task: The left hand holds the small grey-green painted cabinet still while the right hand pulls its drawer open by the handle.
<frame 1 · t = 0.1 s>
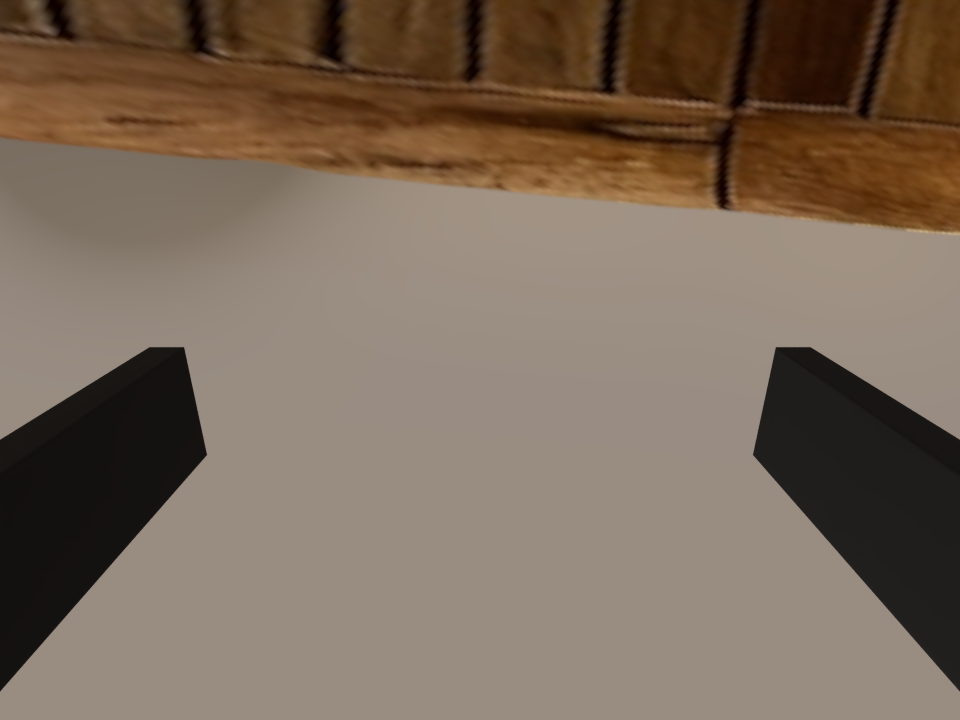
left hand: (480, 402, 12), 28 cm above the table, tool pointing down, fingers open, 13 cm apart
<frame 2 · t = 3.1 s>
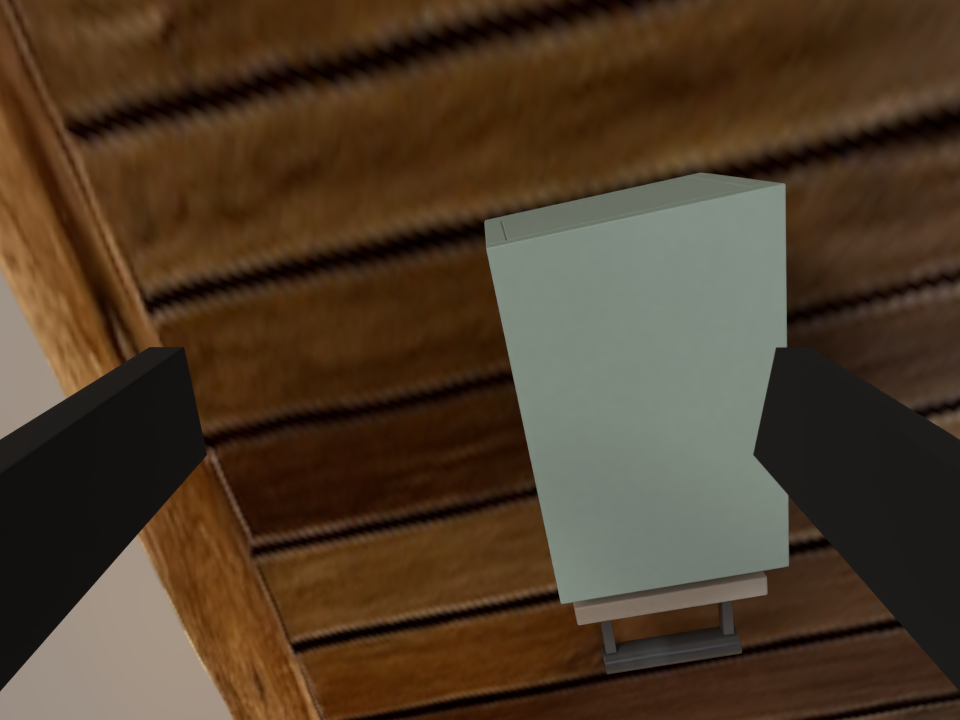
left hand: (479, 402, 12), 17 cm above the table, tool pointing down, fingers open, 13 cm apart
drawer: (643, 486, 29), point 4 cm above the table, slide at 1.4 cm
cabinet: (613, 358, 31), on the table
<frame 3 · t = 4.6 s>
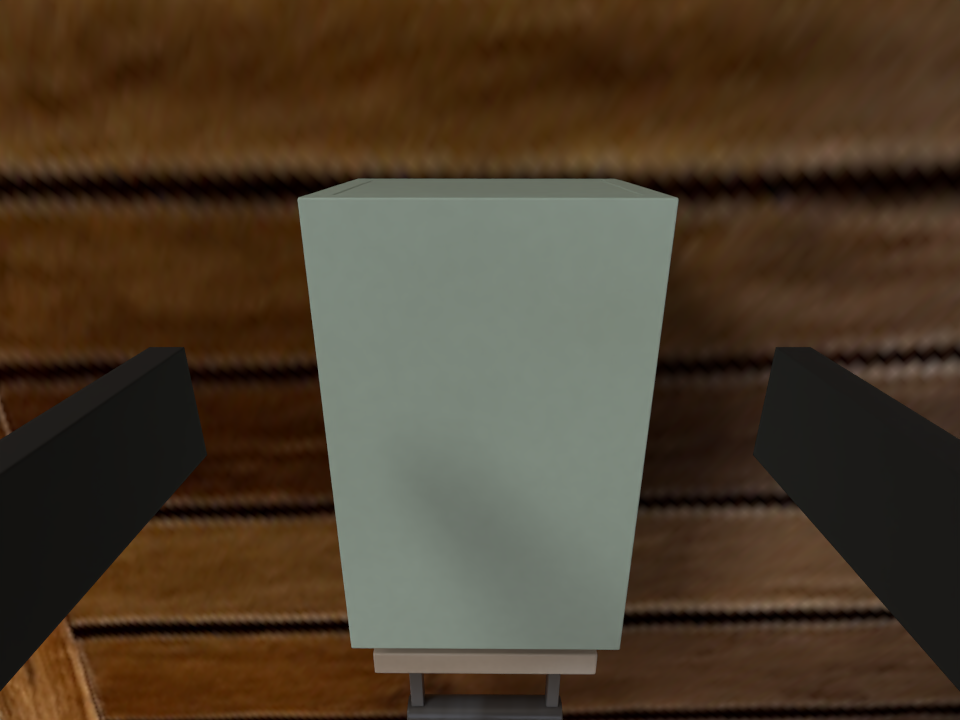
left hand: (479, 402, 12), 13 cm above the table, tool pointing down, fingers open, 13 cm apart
drawer: (485, 525, 25), point 4 cm above the table, slide at 1.4 cm
cabinet: (485, 372, 26), on the table
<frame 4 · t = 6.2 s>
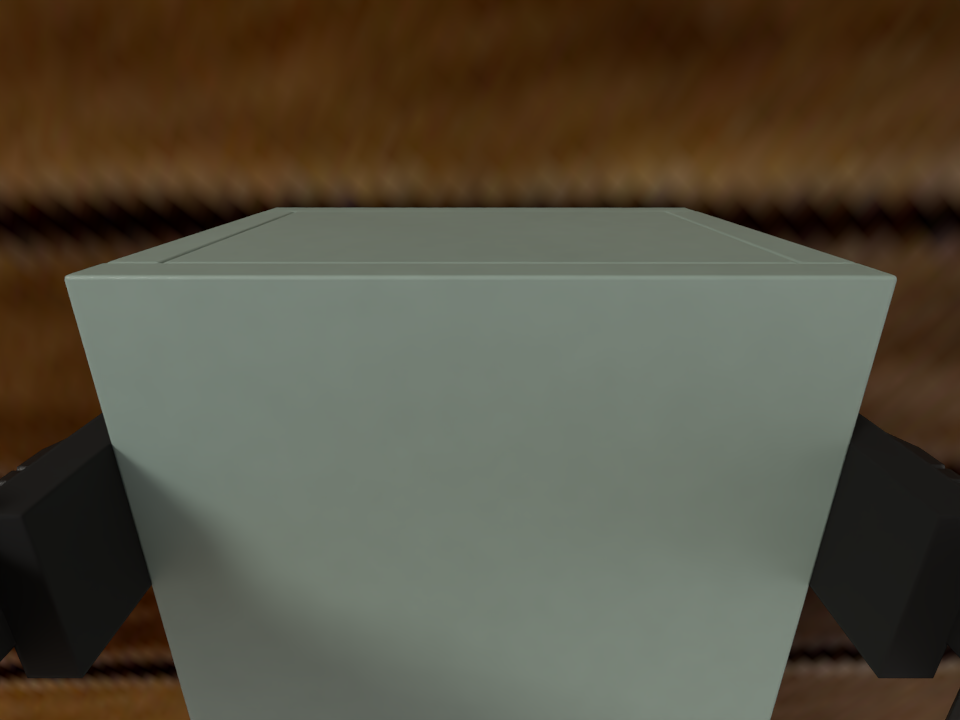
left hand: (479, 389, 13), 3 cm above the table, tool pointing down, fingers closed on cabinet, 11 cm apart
cabinet: (480, 488, 18), on the table, touching left hand
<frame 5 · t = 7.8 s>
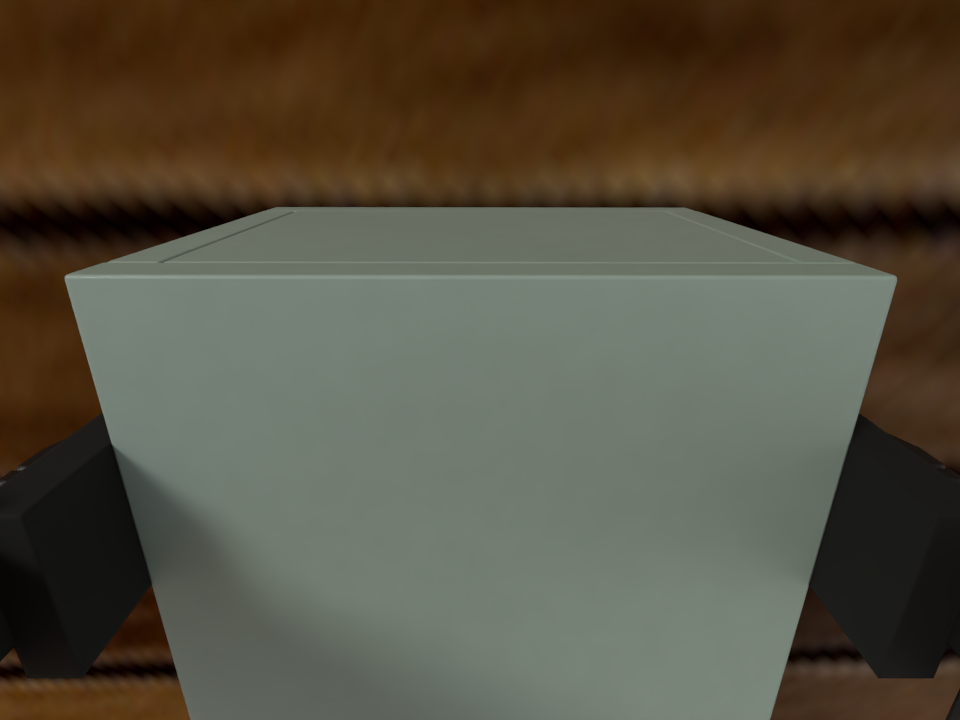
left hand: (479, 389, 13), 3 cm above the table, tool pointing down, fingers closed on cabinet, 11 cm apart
cabinet: (480, 488, 18), on the table, touching left hand
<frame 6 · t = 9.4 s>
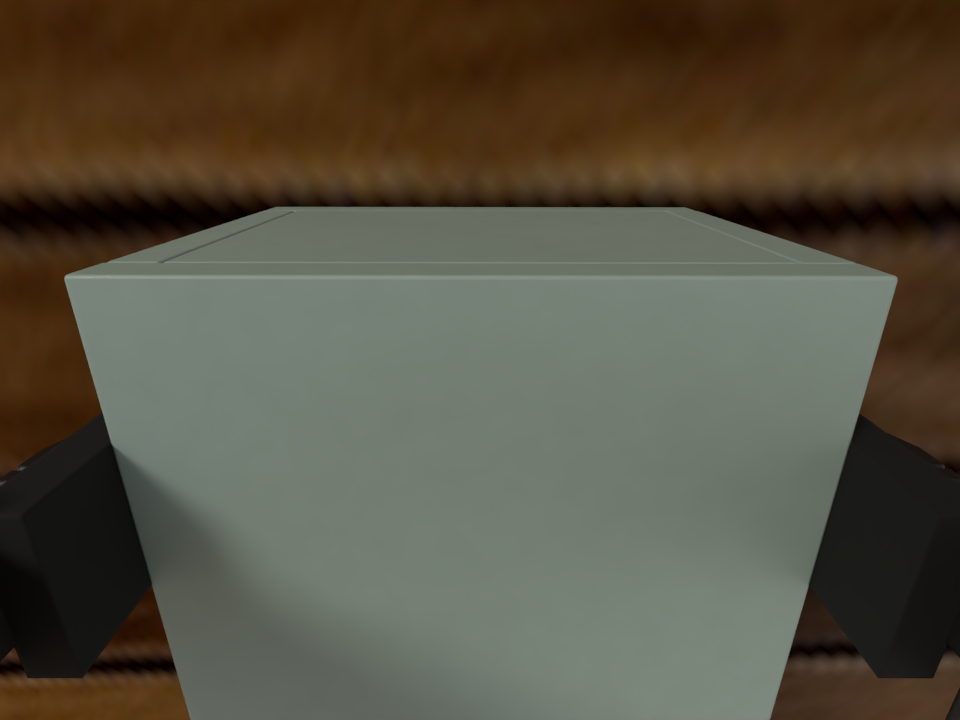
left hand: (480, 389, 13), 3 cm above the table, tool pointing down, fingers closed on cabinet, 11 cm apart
cabinet: (480, 488, 18), on the table, touching left hand
when the left hand's fingers open (3 cm above the table, at t = 11.3 s): cabinet stays where it is, on the table.
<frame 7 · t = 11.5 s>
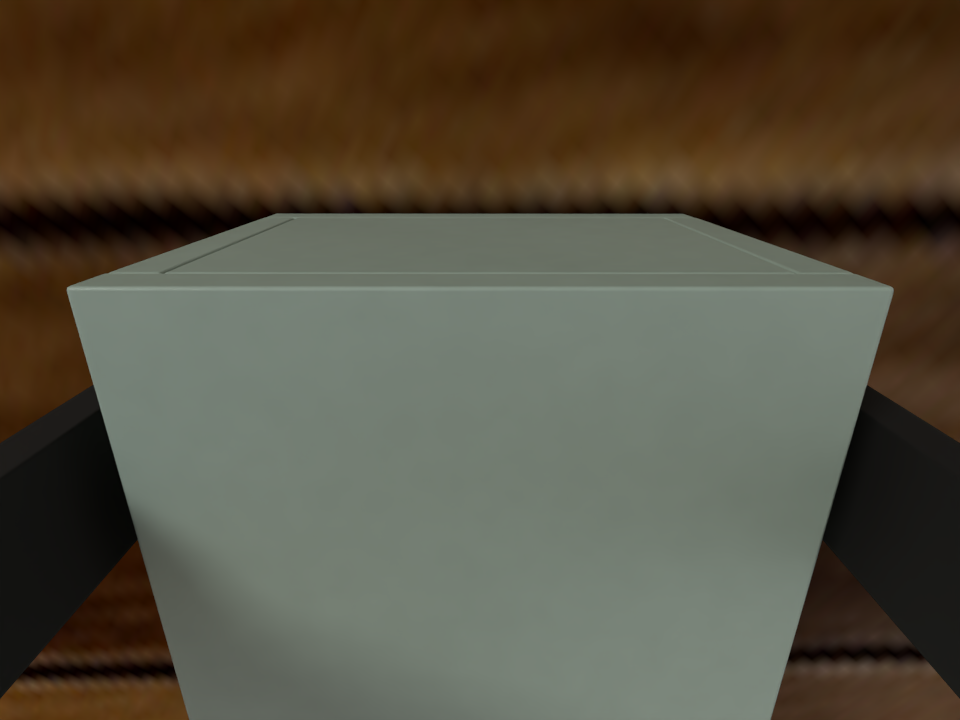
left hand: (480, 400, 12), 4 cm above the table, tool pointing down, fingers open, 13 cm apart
cabinet: (479, 492, 18), on the table
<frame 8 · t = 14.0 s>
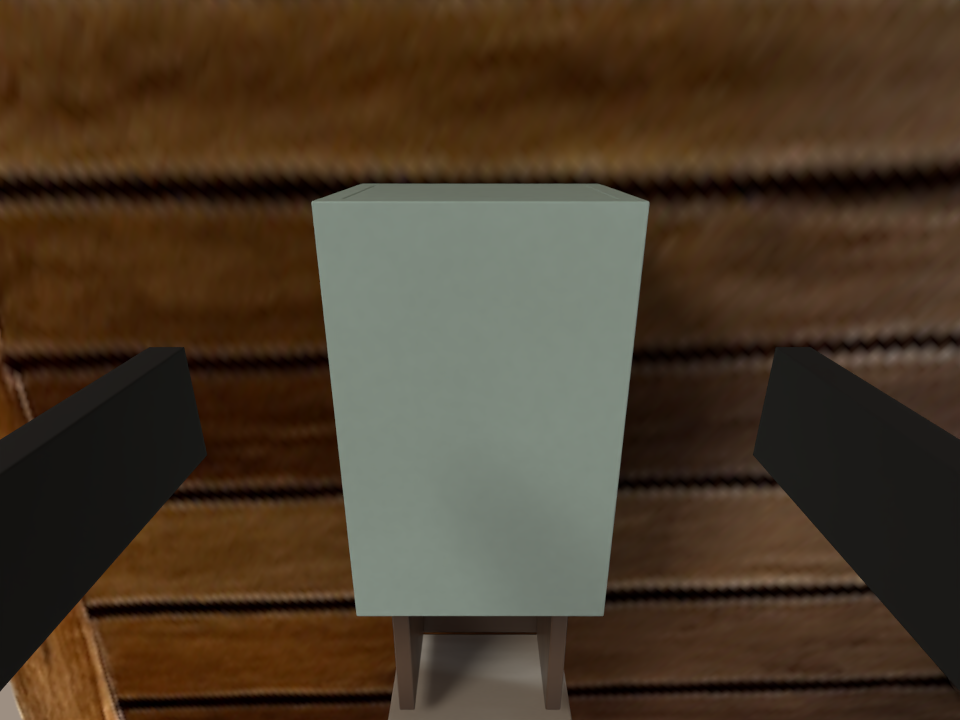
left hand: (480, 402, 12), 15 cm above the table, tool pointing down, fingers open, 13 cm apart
drawer: (480, 620, 30), point 4 cm above the table, slide at 8.9 cm
cabinet: (480, 363, 28), on the table
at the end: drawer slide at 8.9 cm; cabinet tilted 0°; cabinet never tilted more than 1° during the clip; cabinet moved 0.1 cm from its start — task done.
